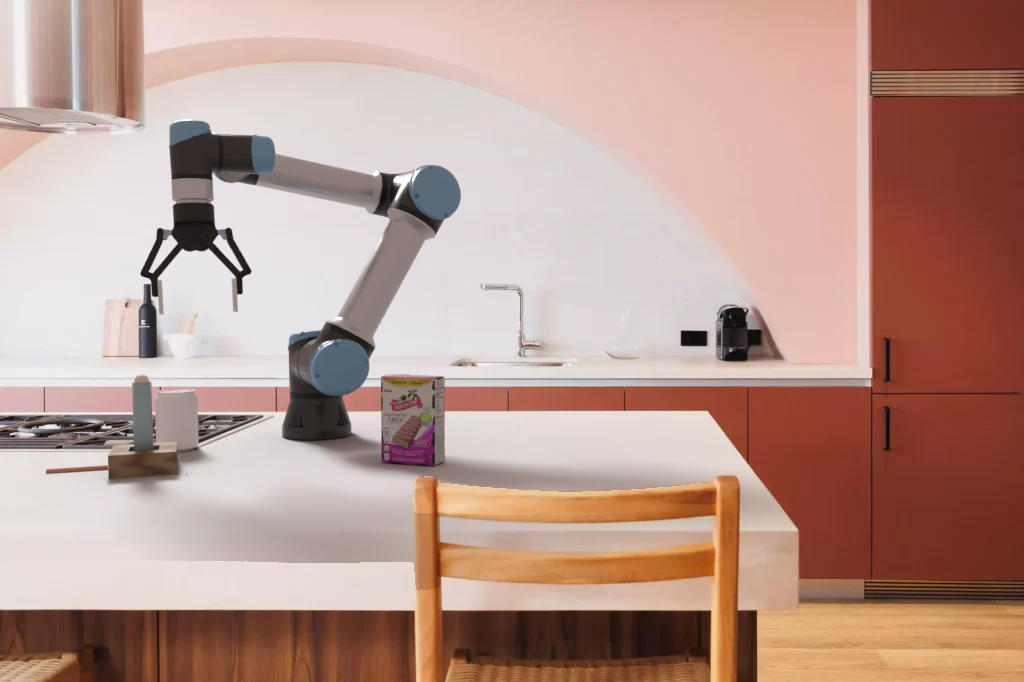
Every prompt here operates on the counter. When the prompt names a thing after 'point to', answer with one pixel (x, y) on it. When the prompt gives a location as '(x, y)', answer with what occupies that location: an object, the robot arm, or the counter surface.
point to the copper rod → (76, 469)
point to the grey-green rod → (142, 413)
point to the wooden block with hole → (143, 460)
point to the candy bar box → (413, 419)
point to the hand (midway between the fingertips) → (199, 313)
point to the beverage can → (177, 418)
